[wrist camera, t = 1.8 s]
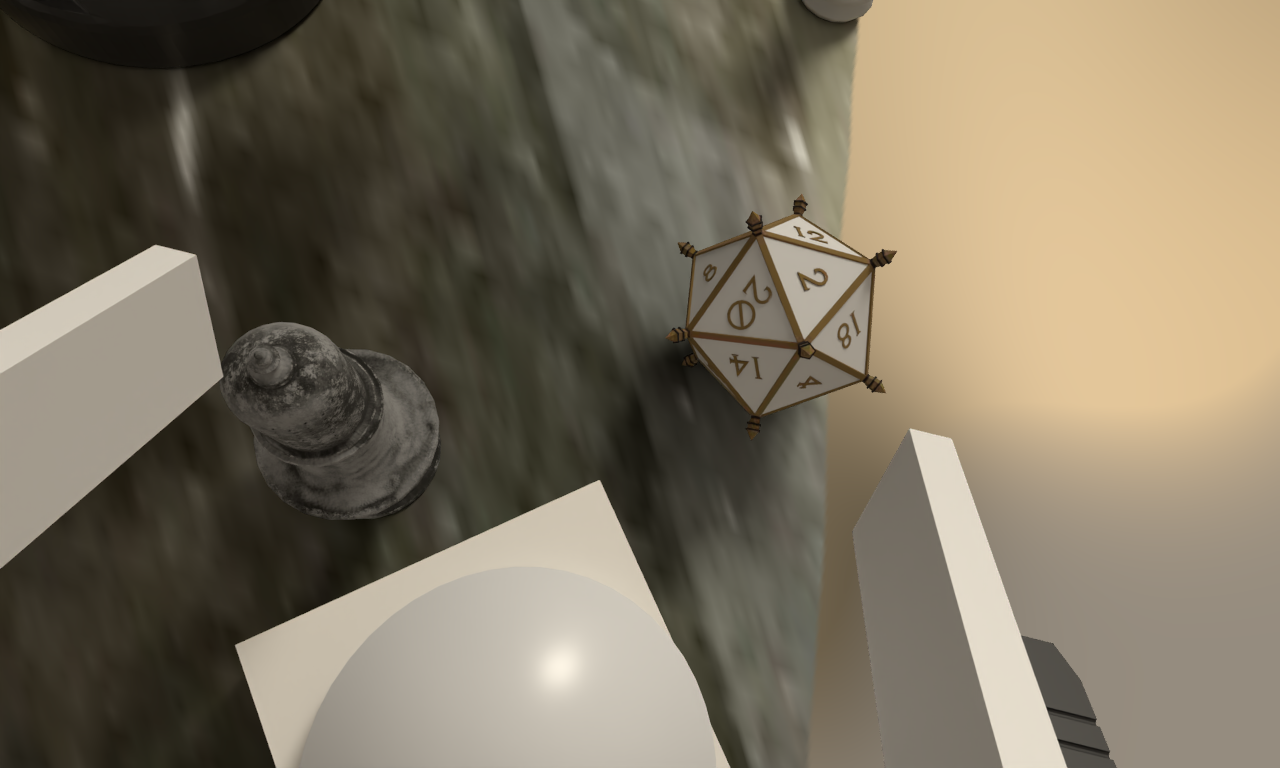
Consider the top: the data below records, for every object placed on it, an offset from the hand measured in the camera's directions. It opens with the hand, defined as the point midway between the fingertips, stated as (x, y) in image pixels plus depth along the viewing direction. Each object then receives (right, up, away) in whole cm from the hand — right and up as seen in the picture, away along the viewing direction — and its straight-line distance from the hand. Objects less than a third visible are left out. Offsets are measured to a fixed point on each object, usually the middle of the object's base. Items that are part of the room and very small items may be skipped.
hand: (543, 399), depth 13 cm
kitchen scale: (-3, -13, +12) cm, 17 cm away
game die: (+6, +2, +18) cm, 19 cm away
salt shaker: (-9, -2, +14) cm, 16 cm away
